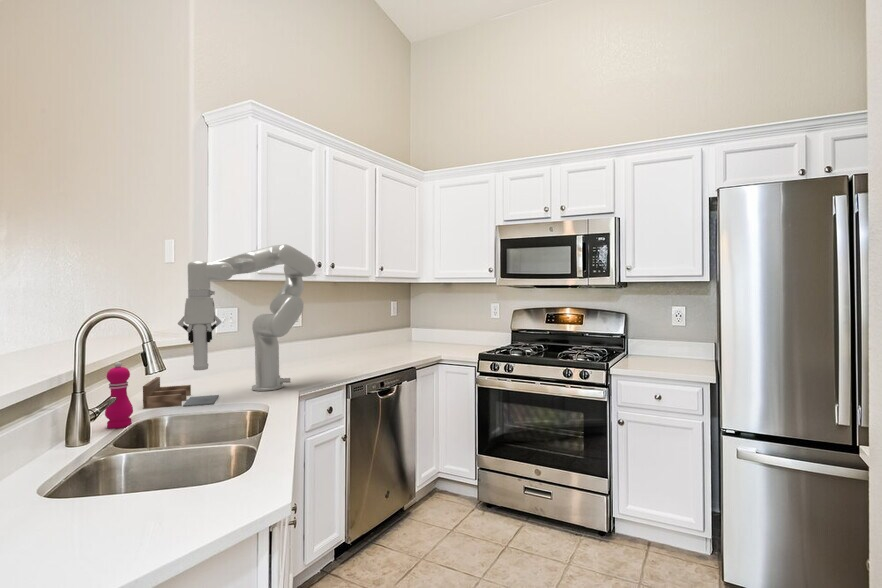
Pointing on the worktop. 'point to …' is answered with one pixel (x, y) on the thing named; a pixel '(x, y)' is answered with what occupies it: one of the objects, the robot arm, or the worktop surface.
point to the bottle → (200, 346)
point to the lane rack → (164, 394)
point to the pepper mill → (119, 398)
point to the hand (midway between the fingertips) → (200, 341)
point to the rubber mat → (201, 400)
